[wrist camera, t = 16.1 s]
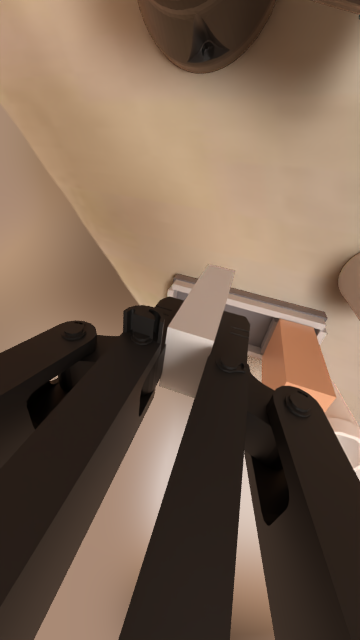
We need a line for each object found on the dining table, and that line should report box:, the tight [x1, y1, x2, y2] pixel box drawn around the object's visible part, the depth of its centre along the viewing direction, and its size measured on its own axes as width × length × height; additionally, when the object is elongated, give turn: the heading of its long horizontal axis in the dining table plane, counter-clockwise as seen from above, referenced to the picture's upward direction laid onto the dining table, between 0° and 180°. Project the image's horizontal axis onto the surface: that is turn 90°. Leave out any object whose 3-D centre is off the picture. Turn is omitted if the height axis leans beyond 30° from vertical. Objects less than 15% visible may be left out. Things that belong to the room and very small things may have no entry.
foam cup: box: [325, 380, 360, 471], centre depth 41 cm, size 10×9×13 cm
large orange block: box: [261, 317, 337, 413], centre depth 33 cm, size 6×8×16 cm
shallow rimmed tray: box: [167, 274, 327, 360], centre depth 41 cm, size 25×10×4 cm, turn 81°
